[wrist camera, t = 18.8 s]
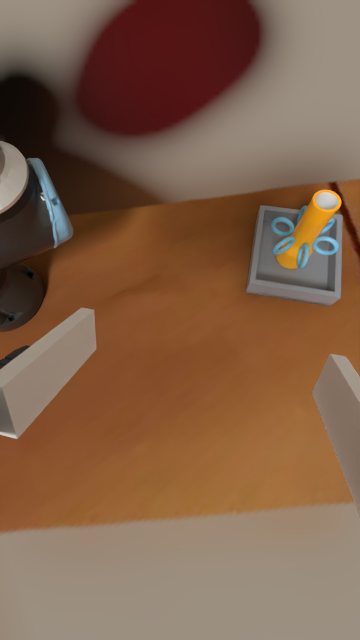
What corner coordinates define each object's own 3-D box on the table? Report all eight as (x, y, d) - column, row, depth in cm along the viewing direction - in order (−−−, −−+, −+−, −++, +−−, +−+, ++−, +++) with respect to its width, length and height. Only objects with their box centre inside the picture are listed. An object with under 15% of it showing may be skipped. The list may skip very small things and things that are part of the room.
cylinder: (301, 225, 53) (340, 161, 39) (331, 264, 50) (385, 209, 36) (250, 249, 52) (270, 191, 38) (277, 290, 49) (311, 244, 35)
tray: (245, 292, 50) (249, 283, 46) (255, 218, 56) (260, 205, 52) (329, 306, 48) (340, 297, 45) (332, 228, 54) (342, 215, 50)
